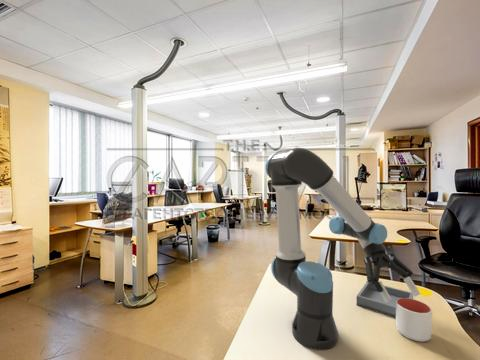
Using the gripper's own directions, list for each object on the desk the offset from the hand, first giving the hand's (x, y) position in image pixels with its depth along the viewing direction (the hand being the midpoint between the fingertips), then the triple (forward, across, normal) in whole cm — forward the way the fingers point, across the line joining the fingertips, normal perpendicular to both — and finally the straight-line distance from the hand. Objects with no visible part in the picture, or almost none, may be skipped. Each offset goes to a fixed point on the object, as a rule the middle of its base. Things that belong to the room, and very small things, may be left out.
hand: (403, 298), depth 90 cm
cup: (+11, +2, -3) cm, 11 cm away
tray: (-2, -5, -16) cm, 17 cm away
